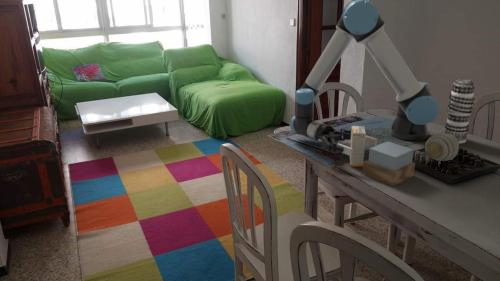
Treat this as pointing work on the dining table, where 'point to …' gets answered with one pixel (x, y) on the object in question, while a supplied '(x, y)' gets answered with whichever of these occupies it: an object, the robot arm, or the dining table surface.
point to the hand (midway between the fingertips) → (364, 147)
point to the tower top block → (390, 156)
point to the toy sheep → (442, 146)
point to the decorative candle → (460, 109)
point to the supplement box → (357, 146)
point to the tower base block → (388, 173)
